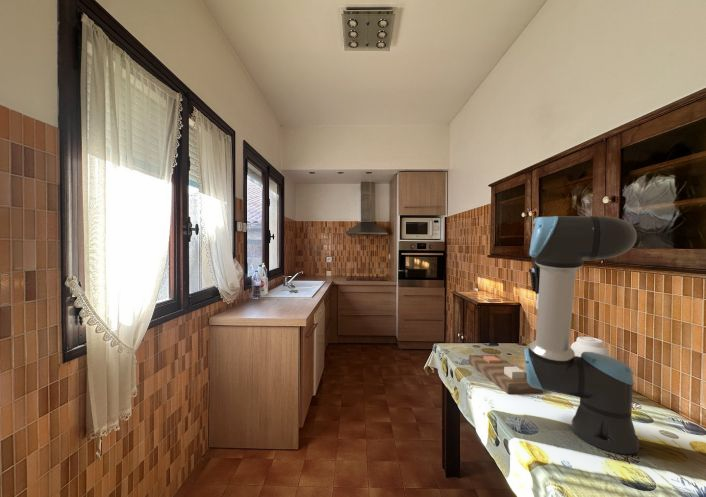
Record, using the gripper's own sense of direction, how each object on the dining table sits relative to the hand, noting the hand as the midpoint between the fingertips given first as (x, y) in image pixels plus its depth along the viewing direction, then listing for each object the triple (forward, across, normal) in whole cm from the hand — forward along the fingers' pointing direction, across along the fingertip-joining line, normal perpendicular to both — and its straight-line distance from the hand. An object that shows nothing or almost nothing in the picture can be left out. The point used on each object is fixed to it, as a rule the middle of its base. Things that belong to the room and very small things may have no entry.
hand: (540, 309), depth 131 cm
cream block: (+27, -6, +15) cm, 32 cm away
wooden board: (+29, +2, +15) cm, 33 cm away
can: (+30, -10, -14) cm, 34 cm away
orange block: (+29, +10, +15) cm, 34 cm away
